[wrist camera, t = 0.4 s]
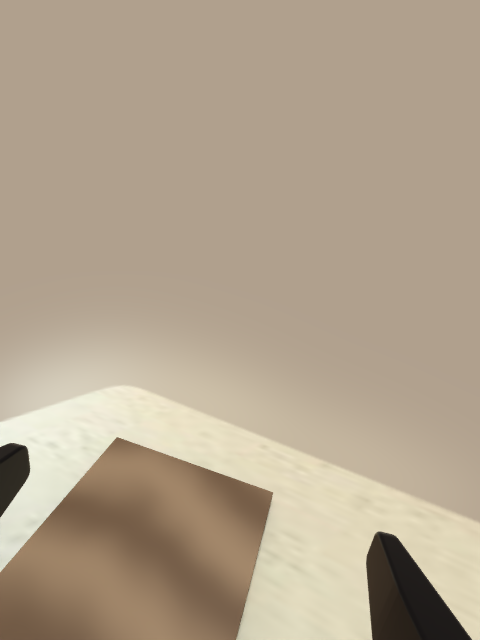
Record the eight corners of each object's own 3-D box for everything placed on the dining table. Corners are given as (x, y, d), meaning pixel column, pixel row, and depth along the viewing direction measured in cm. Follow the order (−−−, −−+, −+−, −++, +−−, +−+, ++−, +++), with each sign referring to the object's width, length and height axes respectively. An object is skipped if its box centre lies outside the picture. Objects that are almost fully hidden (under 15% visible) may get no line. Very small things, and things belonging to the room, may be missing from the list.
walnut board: (195, 798, 14) (196, 793, 13) (-51, 646, 17) (-57, 638, 17) (271, 500, 26) (273, 492, 25) (117, 445, 29) (117, 437, 28)
